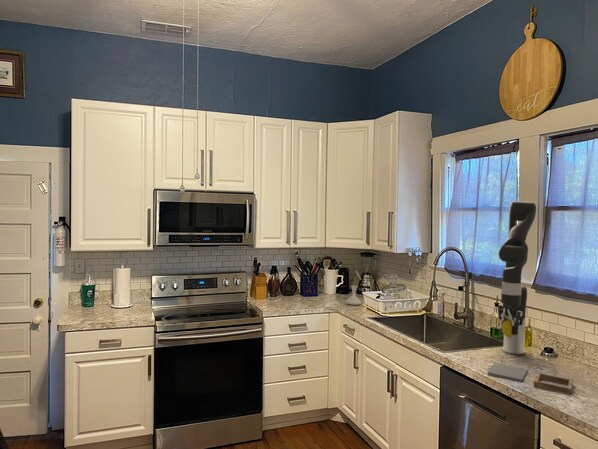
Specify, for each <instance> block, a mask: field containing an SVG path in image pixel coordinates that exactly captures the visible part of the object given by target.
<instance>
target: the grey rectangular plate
mask: <svg viewBox="0 0 598 449" xmlns="http://www.w3.org/2000/svg"><path fill="white" fill-rule="evenodd" d="M528 370H529V369H528V368H524V367H521V366H520V367H519V366H514V365H510V364H505V363H504V364H503V363H500V362H494V363H493V365H492V366H490V369H489V370H488V371H487V375H488V376H492V377H496V378H502V379H507V380H512V381H515V382H520V383H523V382H524V379H525V377H526V375H527V373H528Z"/></svg>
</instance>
